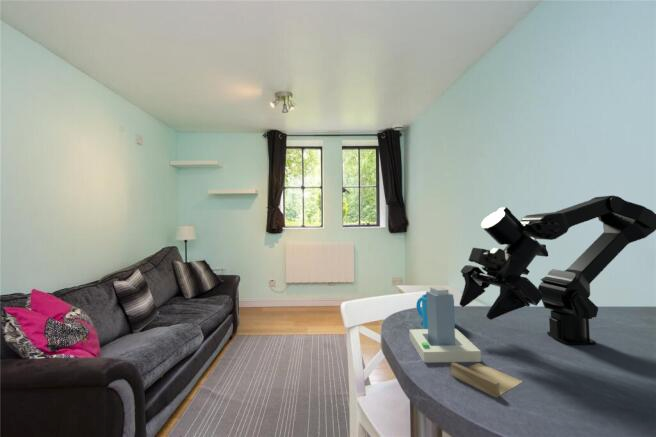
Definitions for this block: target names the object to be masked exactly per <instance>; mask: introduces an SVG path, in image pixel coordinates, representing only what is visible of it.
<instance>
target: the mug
mask: <svg viewBox="0 0 656 437" xmlns="http://www.w3.org/2000/svg"><path fill="white" fill-rule="evenodd" d="M453 304H454V305H455V298H454V296H453ZM415 306H416V311H417V312H418V313H417V314H418V315H419V316H420V317H421V319H422V327H423V328H422V329H428V321H427V298H426V293H425V294H422V295H421V297H419V298H417V301H416V305H415ZM455 319H456V316H455V312H454V326H455V327H456V320H455Z"/></svg>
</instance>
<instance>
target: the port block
mask: <svg viewBox="0 0 656 437" xmlns="http://www.w3.org/2000/svg"><path fill="white" fill-rule="evenodd" d="M408 331H409V333H408V335H409V339H410V341H411V343H412V345H413V346H414V348H415V350H416V351H417V353H418V354H419V356H420V359H421V360H422V362H423V363H429V364H430V363H454V362H455V363H480V362H482V350H480V349H479V348H478V347H477V346H476V345H474V343H473V342H471V340H470V339H468V337H466V336H465V335H464V334H463V333H462V332H460V331H459V330H458V329H457V328H455V345H454V346H431V345H430V344H429V343H428V329H424V328H418V329H417V328H416V329H415V328H414V329H412V328H411V329H409V330H408Z"/></svg>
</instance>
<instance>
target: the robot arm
mask: <svg viewBox="0 0 656 437" xmlns="http://www.w3.org/2000/svg"><path fill="white" fill-rule="evenodd" d="M596 218H598V221H599V222H601V223H602V227H603V232H602V233H601V234H600V235H599V236H598V238H596V240H594V241H593V242H592V243H591V244H590V245H589V246H588V248H586V249H585V251H583V253H581V255H579V257H578V258H576V260H575V261H573V263H572V264H570V265H569V267H568V268H567V269H565V270H560V269H554V268H552V269H551V270H549V271H548V273H547V274H546V275H545V276H544V277H542V278H540V281H541V282H540V283H539V285H538V287H537V286H536V285H535V284H534V283H533V282H532V281H531V280H530V278H528V277H526V276H528V275H529V273H530V270H529V269H528V267H529V266H530V264H531V263H532V262H533V260H535V258H536V257H549V251H548V250H547V246H546V244H545V243H544V244H543V243H542V244H541V243H540V242H539V241H538V240H547V241H549V240H550V241H551V240H553V241H554V240H556V239H558V238H560V237H561V236H563V235H565V234H567V233H568V231H569V229H570V228H571V227H574V226H577V225H579V224H582V223H585V222H588V221H591V220H594V219H596ZM480 227H481V228H482V229H483V230H484V231H485V232H486V233H487V234H488V235H489V236H490V237H491V238H492V239H493V240H494V241H495V242H496V243H497V244H498V245H501V246H502V245H506V247H504V249H502V248H498V247H493V248H491V250H490V249H486V248H482V247H481V248H479V247H472V249H471V252H470V255H469V258H468V261H469V262H471V263H475V264H478V265H480V266H481V267H479V266H475V265H471V264H468V265H464V266H463V267H462V269H461V270H460V273H461V276H462V277H463V279H464V283H465V285H464V288H463V291H462V295H461V297H460V301H459V306H460V307H462V308H464V307H465V306H466V307H467V305H469V304H470V303H472V302H473V301H475V300H476V299H477V298H479V297H480V296H481V295H483V294H485V292H486V289H487V288H489V287H490V286H491V285H492V286H495V287H499V295H498V296H497V297H496V299H495V300H494V302H493V304H492V305H491V307H490V308H489V310H488V312H487V314H486V318H487V319H488V320H494V319H496V318H498V317H501V316H503V315H505V314H508V313H510V312H513V311H516V310H519V309H521V308H525V307H527V308H529V307H530V306H531V305H533V306H534V307H535V306H536V307H537V305H538V304H539V303H540V302H542V305H543V307H544V308H545V309H549V310H550V317H549V318H548V319H549V322H548V323H549V331H546V334H547V335H548V336H551V338H555V339H556V340H558V341H560V342H562V343H563V344H566V345H596V344H597V341H596V340H593V339H591V336H590V320H592V319H593V318H597V316H598V312H599V307H598V306H597V305H596V304H595V303H594V302H593V301H592V300H591V299H590V296H591V283H592V282H593V281H594V280H595V279H596V278H597V277H598V276H599V275H600V274H601V272H603V271H604V270H605V268H607V267H608V266H609V264H611V262H612V261H613V260H615V258H616V257H617V256H619V254H620V253H621V252H622V251H623V250H624V249H625V248H626V247H627V246H628V245H629V244H631V243H635V242H637V241H640V240H643V239H646V238H647V237H649V236H650V235H652V234H653V233H654V232H655V231H656V213H655V212H654V211H653V210H651V209H650V208H647V207H646V206H644V205H641V204H638V203H634V202H631V201H627V200H625V199H624V198H622V197H620V196H618V195H617V196H616V195H605V196H603V195H602V196H596V197H593V198H591V199H589V200H586V201H583V202H579V203H577V204H575V205H572V206H567V207H566V208H562V209H559V210H556V211H553V212H545V213H544V212H543V213H535V214H527V215H524V216H523V217H522V218H521V220H520V219H518V218H517V217H516V216H515V215H514V214H513V213H512V211H511V210H510V209H509V208H508V207H499V208H498V209H497V210H495V211H494V212H492V213H490V214H489V215H488V216H485V217H484V218H483V220H482V221H481V223H480ZM485 272H486V273H485ZM522 275H526V276H522Z"/></svg>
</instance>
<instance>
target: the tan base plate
mask: <svg viewBox="0 0 656 437" xmlns="http://www.w3.org/2000/svg"><path fill="white" fill-rule="evenodd" d="M450 373H451V374H450V375H451V377H454V378H456V379H458V380H460V381H462V382H464V383H466V384H468V385H470V386H472V387H474V388H476V389H478V390H480V391H482V392H484V393H486V394H488V395H490V396H492V397H494V398H499V397H500V396H501V395H503V394H505V393H507V392H508V391H510V390H512V389H513V388H515V387H518V385H520V384H522V383H523V382H524V381H523V380H521V379H518V378H516V377H514V376H512V375H511V376H510V375H509V374H506V373H504V372H502V371H499V370H497V369H494V368H492V367H489V366H487V365H484V364H482V363H480V362H475V364H472V365H470V366H468V367H466V366H464V365H462V364H459V363H458V362H451V363H450Z"/></svg>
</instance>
